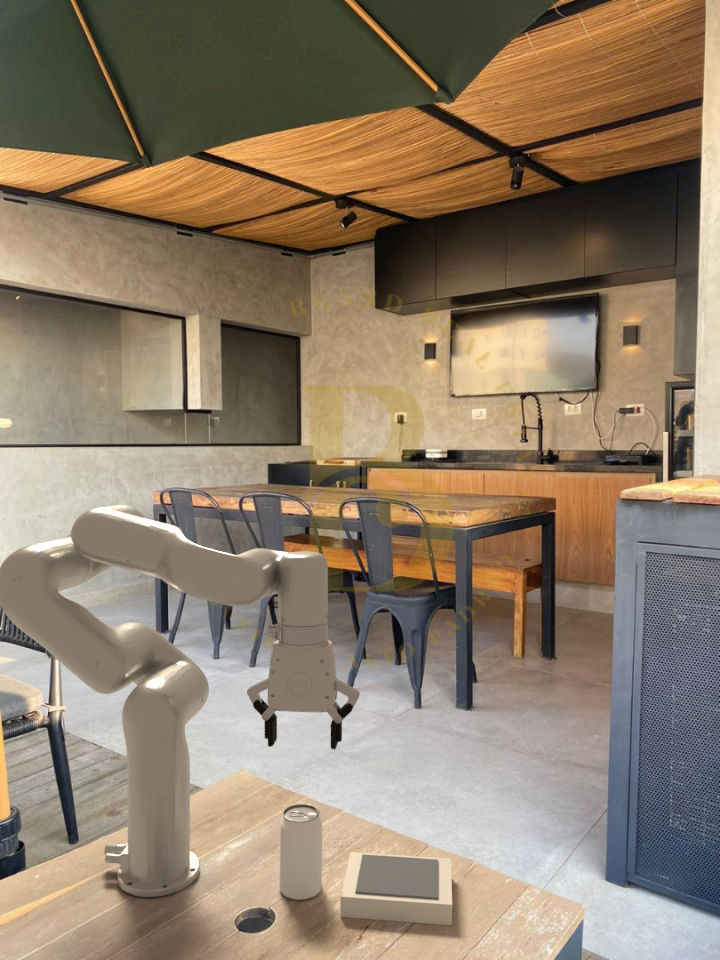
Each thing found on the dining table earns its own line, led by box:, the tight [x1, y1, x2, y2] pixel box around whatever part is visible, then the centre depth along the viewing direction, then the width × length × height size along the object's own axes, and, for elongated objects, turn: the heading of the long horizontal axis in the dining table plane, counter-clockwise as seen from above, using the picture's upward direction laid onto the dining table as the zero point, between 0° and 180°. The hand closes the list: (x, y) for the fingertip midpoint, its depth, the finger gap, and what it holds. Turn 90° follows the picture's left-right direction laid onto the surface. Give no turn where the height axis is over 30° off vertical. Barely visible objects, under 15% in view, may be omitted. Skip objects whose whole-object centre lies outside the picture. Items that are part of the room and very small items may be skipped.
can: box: [279, 803, 323, 902], centre depth 112 cm, size 6×6×12 cm
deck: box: [340, 851, 453, 926], centre depth 111 cm, size 16×12×3 cm
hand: (303, 744), depth 112 cm, fingers open, 9 cm apart
